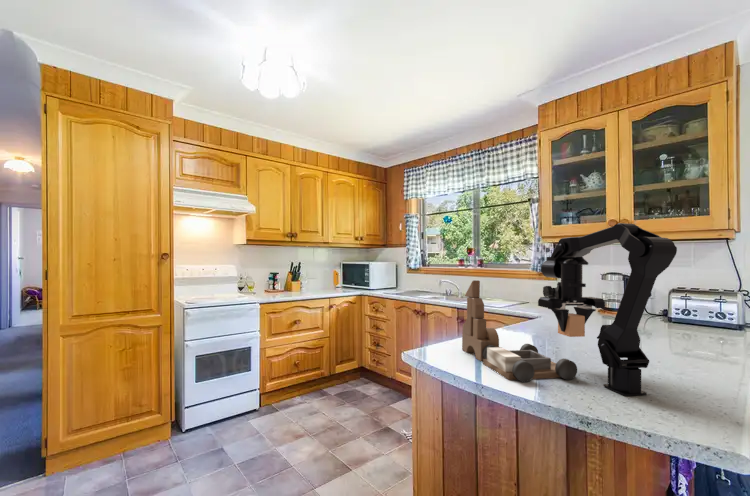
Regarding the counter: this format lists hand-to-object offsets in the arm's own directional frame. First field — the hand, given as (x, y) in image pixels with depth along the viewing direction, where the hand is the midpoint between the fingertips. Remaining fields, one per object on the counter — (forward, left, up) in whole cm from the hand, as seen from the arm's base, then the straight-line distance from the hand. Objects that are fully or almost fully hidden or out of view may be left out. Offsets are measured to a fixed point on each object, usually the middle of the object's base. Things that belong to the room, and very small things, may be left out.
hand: (571, 331), depth 105 cm
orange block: (0, 0, -1) cm, 1 cm away
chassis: (0, +15, -11) cm, 19 cm away
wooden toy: (+17, +21, -11) cm, 29 cm away
